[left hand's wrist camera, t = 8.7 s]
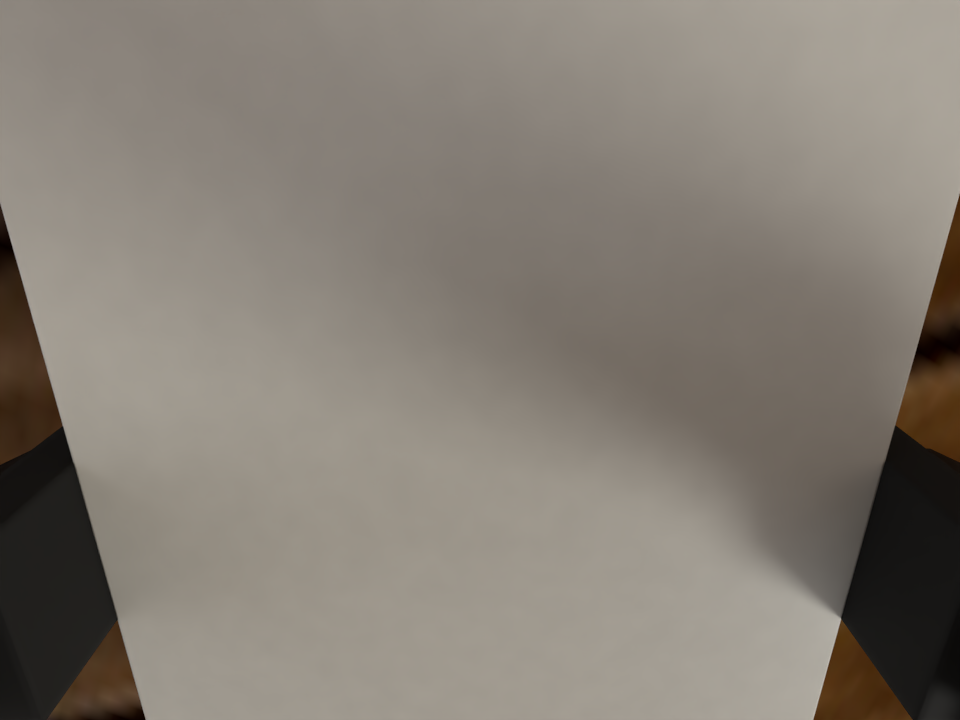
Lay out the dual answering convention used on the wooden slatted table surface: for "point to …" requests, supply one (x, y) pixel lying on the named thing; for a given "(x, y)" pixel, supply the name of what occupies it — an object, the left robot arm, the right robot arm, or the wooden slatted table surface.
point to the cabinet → (479, 336)
